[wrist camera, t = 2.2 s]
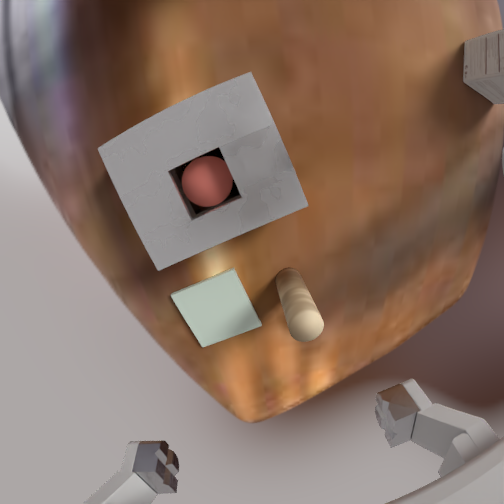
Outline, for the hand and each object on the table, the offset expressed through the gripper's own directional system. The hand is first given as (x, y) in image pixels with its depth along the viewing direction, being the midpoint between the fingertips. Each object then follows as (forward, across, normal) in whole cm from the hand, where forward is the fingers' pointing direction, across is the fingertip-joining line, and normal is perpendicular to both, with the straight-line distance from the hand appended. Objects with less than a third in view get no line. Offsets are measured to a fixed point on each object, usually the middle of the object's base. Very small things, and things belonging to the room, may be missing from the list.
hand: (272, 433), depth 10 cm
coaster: (+25, +5, +7) cm, 26 cm away
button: (+22, +1, -8) cm, 23 cm away
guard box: (+24, +1, -8) cm, 26 cm away
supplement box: (+23, -38, -17) cm, 48 cm away
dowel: (+24, -4, +5) cm, 25 cm away
